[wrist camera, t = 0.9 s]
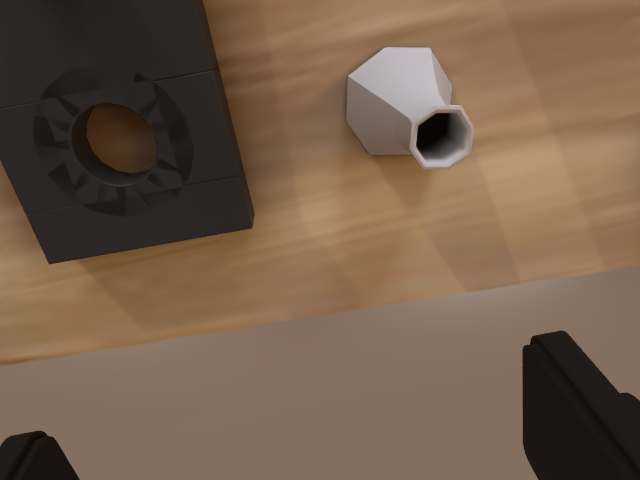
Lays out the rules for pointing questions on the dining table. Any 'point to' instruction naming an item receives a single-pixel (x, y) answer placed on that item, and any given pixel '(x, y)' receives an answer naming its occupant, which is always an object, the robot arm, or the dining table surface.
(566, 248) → the dining table surface
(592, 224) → the dining table surface
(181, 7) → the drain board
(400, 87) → the flask
